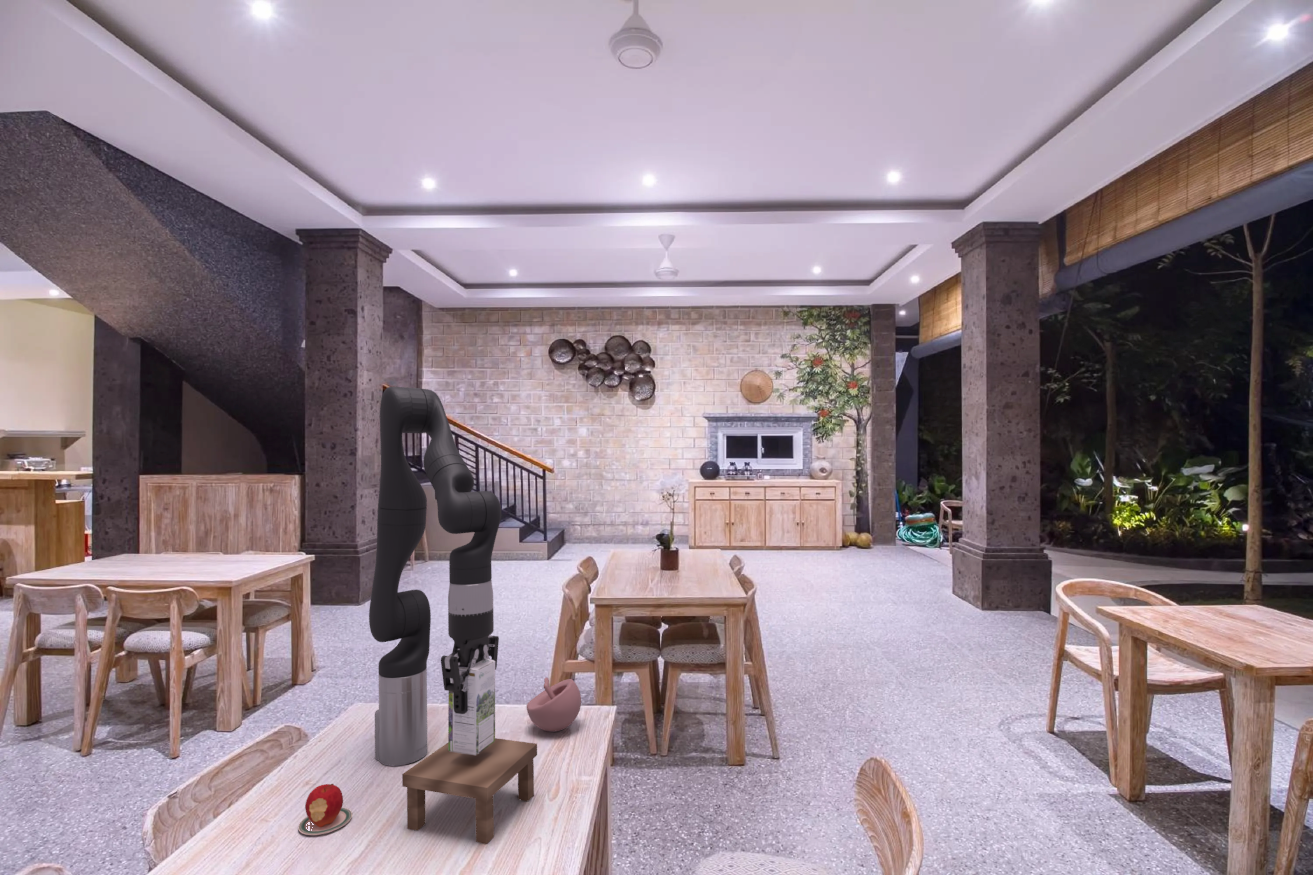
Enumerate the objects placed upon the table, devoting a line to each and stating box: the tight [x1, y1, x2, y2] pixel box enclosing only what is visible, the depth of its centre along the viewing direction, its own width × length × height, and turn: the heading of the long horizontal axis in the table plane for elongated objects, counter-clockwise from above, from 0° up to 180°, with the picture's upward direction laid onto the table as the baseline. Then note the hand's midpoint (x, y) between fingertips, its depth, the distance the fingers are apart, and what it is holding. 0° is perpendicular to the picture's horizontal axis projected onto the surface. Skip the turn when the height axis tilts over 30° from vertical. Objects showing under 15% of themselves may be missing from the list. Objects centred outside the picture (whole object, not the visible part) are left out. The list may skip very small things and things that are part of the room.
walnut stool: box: [401, 737, 538, 845], centre depth 110 cm, size 16×16×9 cm
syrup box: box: [447, 658, 496, 755], centre depth 111 cm, size 6×6×14 cm
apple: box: [298, 783, 353, 836], centre depth 108 cm, size 8×8×6 cm
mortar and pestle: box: [526, 677, 582, 733], centre depth 143 cm, size 12×12×11 cm
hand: (471, 705), depth 111 cm, fingers closed on syrup box, 5 cm apart
